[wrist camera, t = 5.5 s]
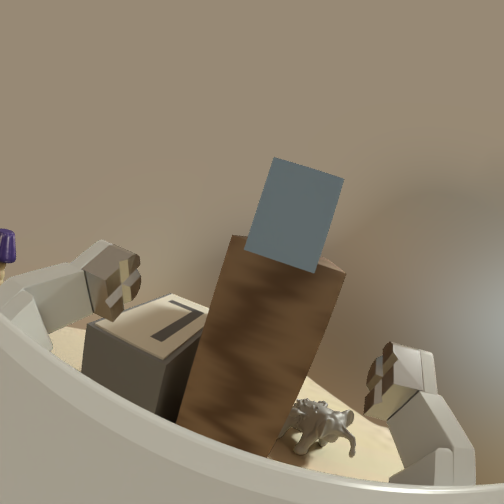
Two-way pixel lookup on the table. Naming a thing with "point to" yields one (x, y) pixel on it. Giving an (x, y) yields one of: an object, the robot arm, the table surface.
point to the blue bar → (294, 214)
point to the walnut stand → (257, 347)
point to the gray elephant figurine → (318, 425)
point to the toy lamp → (6, 250)
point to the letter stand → (146, 352)
